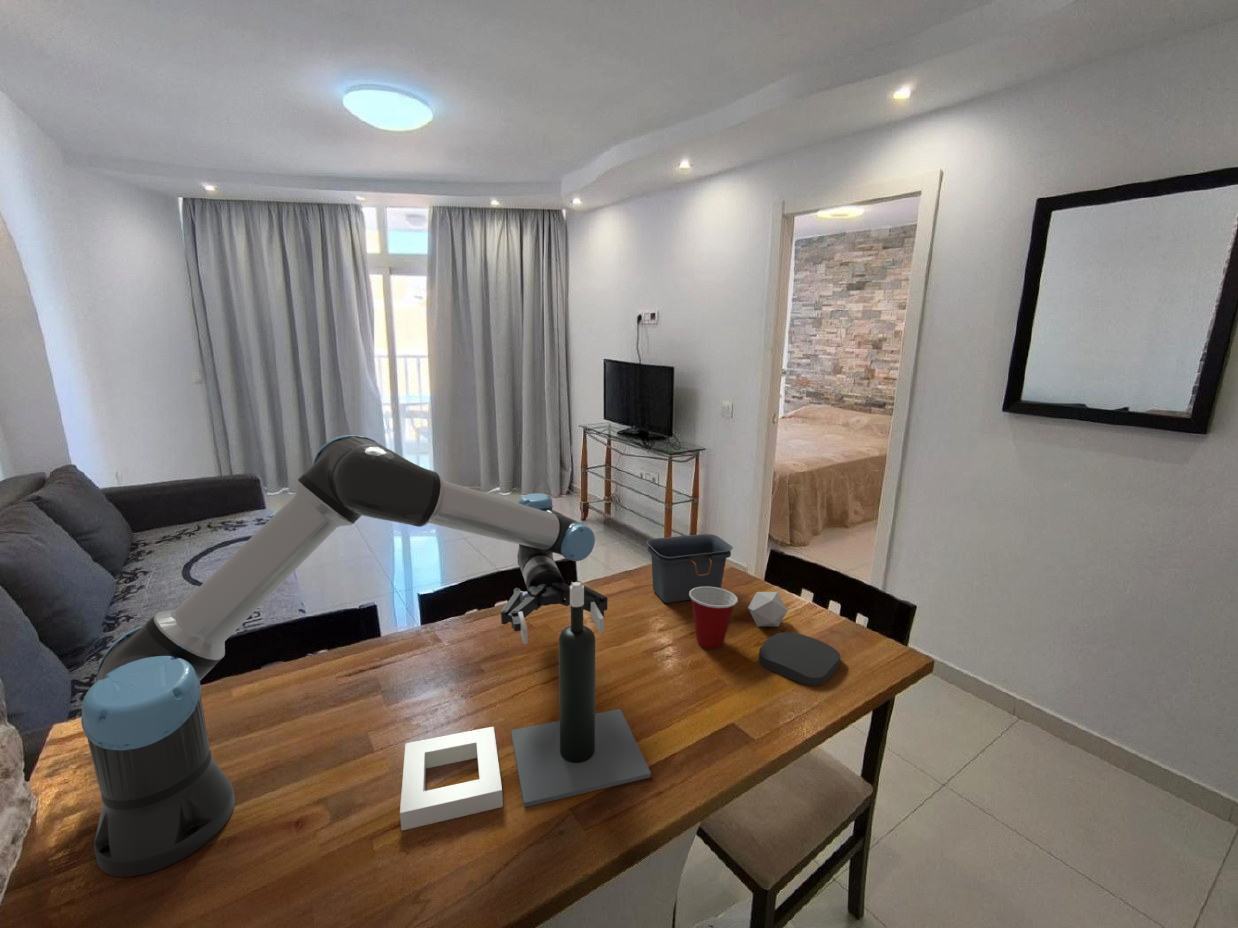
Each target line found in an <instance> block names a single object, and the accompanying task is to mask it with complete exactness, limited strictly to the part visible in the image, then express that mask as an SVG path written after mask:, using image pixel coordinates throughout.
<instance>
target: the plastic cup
mask: <svg viewBox="0 0 1238 928" xmlns="http://www.w3.org/2000/svg"><path fill="white" fill-rule="evenodd" d="M689 596H690V598H691V600H690V601H691V608H692V612H693V614H692V615H693V622H694V630H695V635H696V641H697V644H698V646H699V647H701V648H703V649H706V650H719V649H721V648H722V646H723V644H724V643H725V639H726V634H727V632H728V628H729V623H730V621H731V618H732V614H733V612H734V611H733V610H734V608H735V605H736V604H737V603H738V601H739V600H738V596H736V595H735V593H733V592H732V591H729V590H728V589H725V588H722V587H721V588H717V587H709V586H708V587H697V588H693V589H692V590H690V592H689Z"/></svg>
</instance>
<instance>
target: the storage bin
mask: <svg viewBox="0 0 1238 928" xmlns="http://www.w3.org/2000/svg"><path fill="white" fill-rule="evenodd" d="M645 542H646V544H647V548H646V550H647V552H649V553H648V554H651V555H650V556H651V575H652V576H651V577H652V590H653V592H655V594H656V595H657V596H658V597H659V599H660V600H662V602H664V603H666V604H670V603H676V602H684V601H689V600H690V601H691V598H690V596H689V592H690V590H692V589H693V588H697V587H708V586H709V587H717V588H721V589H722V584H723V580H724V573H725V567H726V563H727V558H730V557H731V556H732V550H733V549H734V548H733V546H732V545H731V544H729V543H728V542H727V541H726V540H724V539H723V538H721V537H720V536H718V535H716V534H709V533H702V534H691V535H689V534H688V535H679V536H678V535H676V536H668V537H657V538H650V539H648V540H646V541H645Z"/></svg>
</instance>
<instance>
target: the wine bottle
mask: <svg viewBox="0 0 1238 928" xmlns="http://www.w3.org/2000/svg"><path fill="white" fill-rule="evenodd" d="M582 584H583V583H582V581H580V582H576V581H575V582H573V581H571V584H570V605H569V606H570V626H567V627H565V628H564V629H563V630H562V631H561V632H560V634H559V637H558V678H559V679H558V686H559V689H558V691H559V692H558V693H559V697H558V698H559V699H558V701H559V702H558V703H559V704H558V705H559V721H560V754H561V756H562V757H563V758H564V759H565V760H566V761H569V762H572V763H581V762H585V761H587V760H589V759H590V758H591V757H592V756H593V754H594V752H595V714H596V636H595V635H596V634H595V633H594V632H593V630H592V629H591V628H589V627H588V626H586V625H584V610H583V605H584V586H585V585H584V584H583V585H582Z"/></svg>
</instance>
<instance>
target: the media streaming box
mask: <svg viewBox="0 0 1238 928" xmlns="http://www.w3.org/2000/svg"><path fill="white" fill-rule="evenodd" d="M758 662H759V664H760V665H761V666H763V667H764V668H765V669H767V670H770V671H772V672H774V673H776V674H778V675H781V676H783V677H786V678H788V679H790V680H793V681H795V682H798V683H800V684H803V685H806V686H810V687H817V686H818V687H819V686H823V685H824V684H825V683H826V682H827V681H829V679H831V677H832V676H833V675H834V674H835V673H836V672H837V670H838V668H839V667H840V665H841V653H840V652H839V651H838V650H837V649H836V648H834V647H833V646H831V645H829V644H827V643H825V642H823V641H822V640H819V639H816V638H814V637H811V636H808V635H805V634H800V633H798V632H792V631H791V632H788V631H785V632H784V631H782V632H777V633H775V634H774V635H773V634H772V636H770V637H769V638H768V639H767V640H765V642H764V643H763V644H762V645H761V646H760V647H759V650H758Z"/></svg>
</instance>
